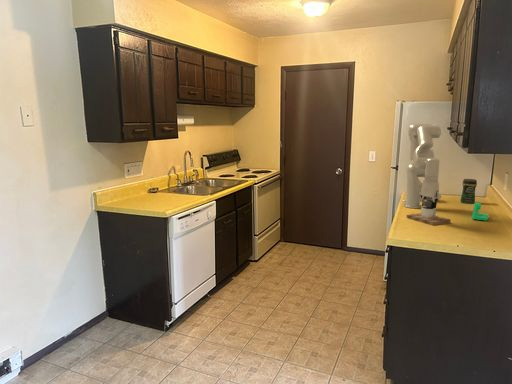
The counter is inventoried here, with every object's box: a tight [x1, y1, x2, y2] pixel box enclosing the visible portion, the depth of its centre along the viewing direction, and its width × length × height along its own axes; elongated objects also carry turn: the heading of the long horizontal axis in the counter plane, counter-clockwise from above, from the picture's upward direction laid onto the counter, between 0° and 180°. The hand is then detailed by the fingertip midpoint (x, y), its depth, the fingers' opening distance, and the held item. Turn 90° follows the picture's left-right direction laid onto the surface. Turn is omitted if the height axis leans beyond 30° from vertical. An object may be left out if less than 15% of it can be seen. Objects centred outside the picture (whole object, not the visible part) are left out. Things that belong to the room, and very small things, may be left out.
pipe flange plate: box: [406, 206, 452, 226], centre depth 229 cm, size 20×15×8 cm
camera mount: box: [471, 202, 489, 221], centre depth 232 cm, size 12×8×10 cm, turn 143°
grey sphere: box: [422, 199, 433, 209], centre depth 228 cm, size 7×7×7 cm
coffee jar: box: [460, 178, 478, 205], centre depth 281 cm, size 10×8×19 cm
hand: (428, 206), depth 228 cm, fingers closed on grey sphere, 6 cm apart
